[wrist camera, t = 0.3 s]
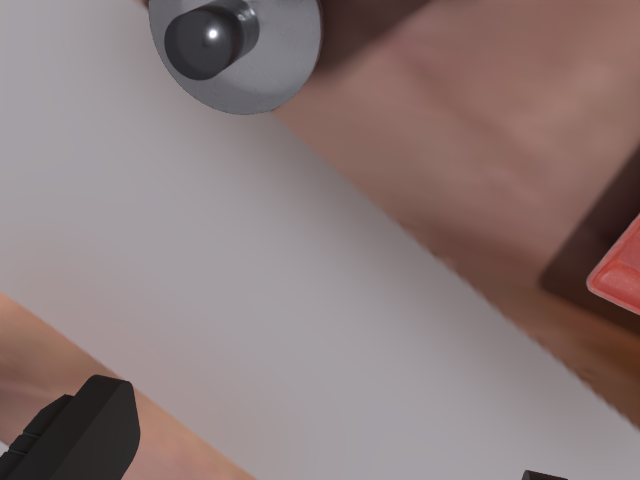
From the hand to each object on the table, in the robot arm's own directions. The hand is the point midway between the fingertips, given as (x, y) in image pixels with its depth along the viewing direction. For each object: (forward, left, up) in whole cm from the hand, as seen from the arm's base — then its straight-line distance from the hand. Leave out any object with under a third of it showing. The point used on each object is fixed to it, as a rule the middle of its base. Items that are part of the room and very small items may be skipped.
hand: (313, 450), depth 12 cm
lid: (-2, -11, -27) cm, 29 cm away
